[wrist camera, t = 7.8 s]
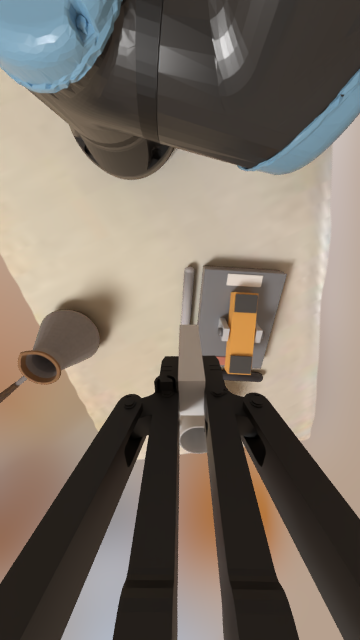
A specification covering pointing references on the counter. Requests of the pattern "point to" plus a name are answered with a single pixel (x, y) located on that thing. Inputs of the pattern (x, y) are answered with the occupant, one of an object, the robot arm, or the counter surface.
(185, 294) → the grey rod
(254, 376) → the black rounded bar
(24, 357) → the coffee pot
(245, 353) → the lever
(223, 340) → the panel
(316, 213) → the counter surface
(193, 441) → the mug
